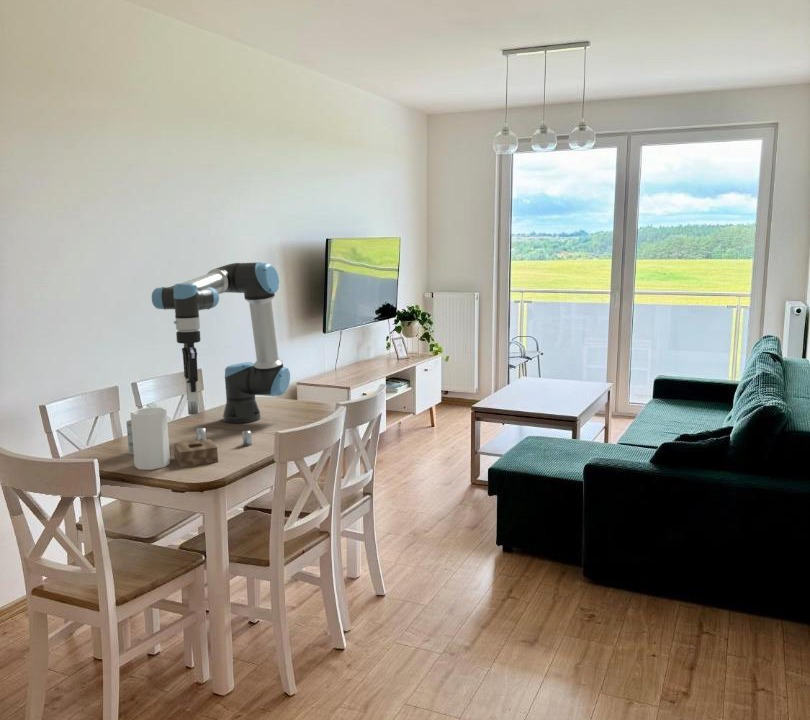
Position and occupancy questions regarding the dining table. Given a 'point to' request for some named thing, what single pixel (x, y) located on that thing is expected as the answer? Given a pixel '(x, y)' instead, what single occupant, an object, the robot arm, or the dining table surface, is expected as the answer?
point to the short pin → (247, 438)
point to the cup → (150, 438)
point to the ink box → (130, 437)
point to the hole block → (195, 452)
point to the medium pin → (201, 434)
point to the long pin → (191, 404)
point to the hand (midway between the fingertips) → (192, 400)
